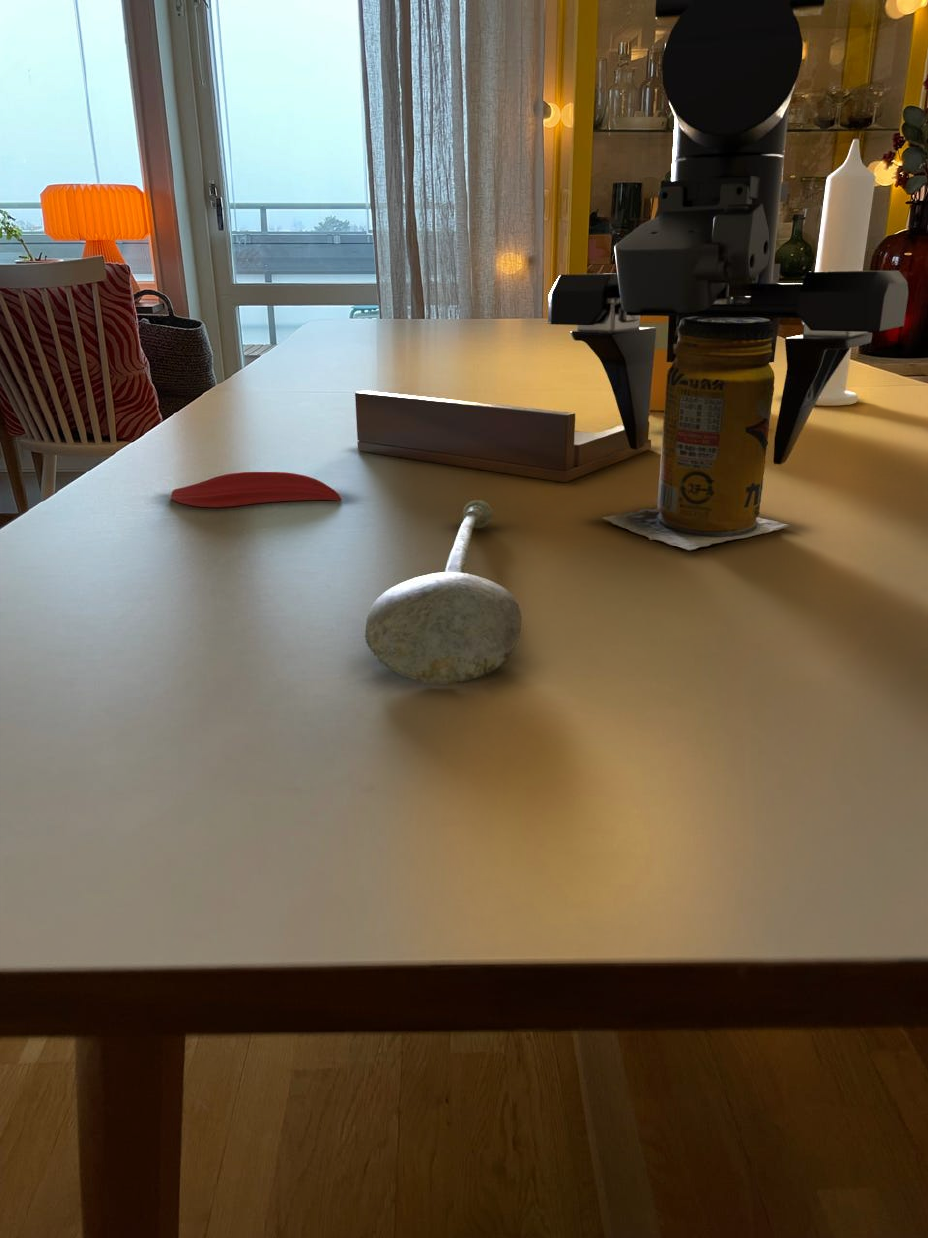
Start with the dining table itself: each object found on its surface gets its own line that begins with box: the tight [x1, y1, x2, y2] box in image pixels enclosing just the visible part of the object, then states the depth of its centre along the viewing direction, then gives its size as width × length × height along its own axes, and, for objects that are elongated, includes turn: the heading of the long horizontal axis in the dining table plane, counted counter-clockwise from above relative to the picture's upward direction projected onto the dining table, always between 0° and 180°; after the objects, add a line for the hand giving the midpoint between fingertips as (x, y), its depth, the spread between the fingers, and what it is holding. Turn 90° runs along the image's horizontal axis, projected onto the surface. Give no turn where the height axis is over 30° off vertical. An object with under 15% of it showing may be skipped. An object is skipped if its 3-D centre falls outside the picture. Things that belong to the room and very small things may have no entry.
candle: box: [814, 138, 876, 407], centre depth 95 cm, size 7×7×25 cm
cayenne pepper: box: [170, 471, 342, 508], centre depth 63 cm, size 12×5×2 cm, turn 79°
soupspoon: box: [364, 499, 522, 685], centre depth 46 cm, size 22×3×7 cm
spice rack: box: [354, 390, 652, 483], centre depth 77 cm, size 14×20×5 cm
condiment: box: [602, 316, 790, 551], centre depth 54 cm, size 7×8×12 cm
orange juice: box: [639, 196, 674, 412], centre depth 94 cm, size 8×9×20 cm
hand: (704, 455), depth 55 cm, fingers open, 8 cm apart
